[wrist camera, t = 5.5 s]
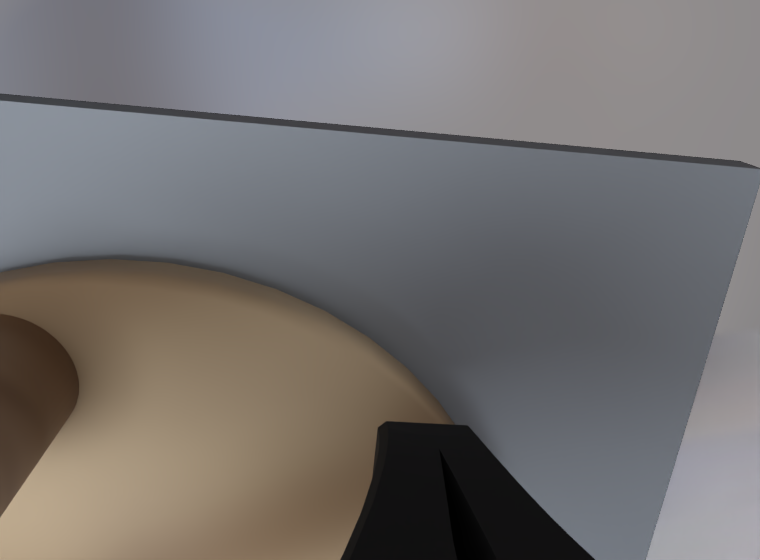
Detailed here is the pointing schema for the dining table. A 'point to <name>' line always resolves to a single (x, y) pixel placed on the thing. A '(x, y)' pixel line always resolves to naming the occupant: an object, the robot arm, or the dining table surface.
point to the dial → (185, 416)
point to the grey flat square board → (428, 268)
